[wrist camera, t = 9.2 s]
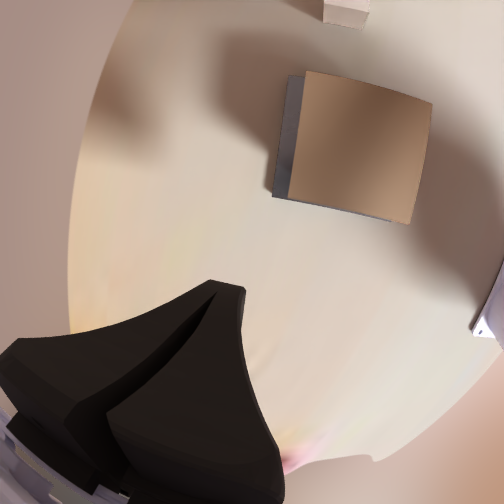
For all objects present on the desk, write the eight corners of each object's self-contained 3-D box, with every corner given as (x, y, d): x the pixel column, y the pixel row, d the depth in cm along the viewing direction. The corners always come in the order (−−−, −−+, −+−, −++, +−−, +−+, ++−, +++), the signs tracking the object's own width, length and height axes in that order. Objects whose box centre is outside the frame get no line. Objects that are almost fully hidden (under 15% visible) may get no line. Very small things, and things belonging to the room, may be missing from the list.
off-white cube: (362, 2, 12) (369, -18, 9) (361, 30, 13) (369, 12, 10) (325, -6, 12) (326, -26, 9) (322, 22, 13) (323, 3, 10)
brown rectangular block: (390, 115, 14) (432, 104, 8) (376, 194, 16) (409, 225, 10) (308, 96, 15) (306, 70, 9) (296, 177, 17) (287, 197, 11)
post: (409, 105, 14) (446, 93, 9) (388, 218, 17) (415, 250, 12) (289, 77, 15) (279, 51, 10) (273, 194, 18) (256, 217, 13)
